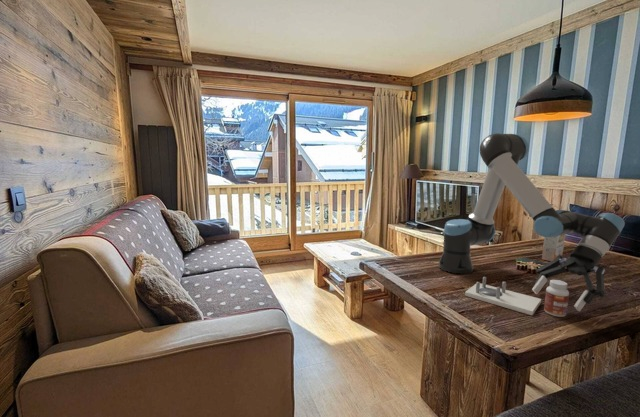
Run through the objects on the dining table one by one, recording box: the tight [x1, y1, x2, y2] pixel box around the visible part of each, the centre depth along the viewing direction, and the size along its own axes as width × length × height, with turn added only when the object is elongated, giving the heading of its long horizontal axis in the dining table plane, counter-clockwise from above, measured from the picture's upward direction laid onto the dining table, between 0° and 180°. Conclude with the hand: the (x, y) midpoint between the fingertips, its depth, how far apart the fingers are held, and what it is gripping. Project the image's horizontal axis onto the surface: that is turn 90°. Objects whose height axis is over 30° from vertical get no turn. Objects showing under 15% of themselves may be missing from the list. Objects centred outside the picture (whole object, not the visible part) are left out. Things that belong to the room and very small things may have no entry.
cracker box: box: [541, 234, 566, 262], centre depth 159 cm, size 14×6×21 cm, turn 128°
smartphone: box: [515, 257, 548, 265], centre depth 154 cm, size 8×1×15 cm
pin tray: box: [464, 276, 542, 316], centre depth 115 cm, size 22×13×6 cm, turn 44°
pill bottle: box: [543, 279, 570, 318], centre depth 104 cm, size 6×6×11 cm
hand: (554, 299), depth 103 cm, fingers open, 13 cm apart
